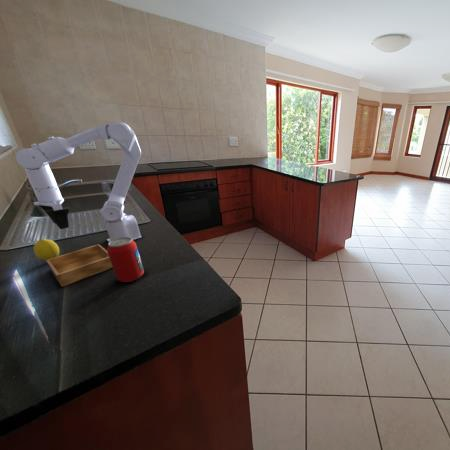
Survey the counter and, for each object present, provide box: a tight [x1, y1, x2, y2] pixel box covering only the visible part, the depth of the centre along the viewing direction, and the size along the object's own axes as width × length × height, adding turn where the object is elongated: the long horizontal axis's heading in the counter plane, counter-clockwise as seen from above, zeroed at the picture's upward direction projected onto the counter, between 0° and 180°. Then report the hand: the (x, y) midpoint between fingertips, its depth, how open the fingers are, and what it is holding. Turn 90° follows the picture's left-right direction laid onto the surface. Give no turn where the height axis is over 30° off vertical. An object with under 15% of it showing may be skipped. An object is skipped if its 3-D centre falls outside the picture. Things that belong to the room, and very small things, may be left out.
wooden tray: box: [45, 243, 113, 287], centre depth 74 cm, size 13×13×4 cm
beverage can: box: [106, 237, 145, 283], centre depth 68 cm, size 7×7×12 cm
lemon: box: [33, 238, 60, 261], centre depth 77 cm, size 6×6×8 cm
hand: (61, 225), depth 82 cm, fingers open, 7 cm apart
